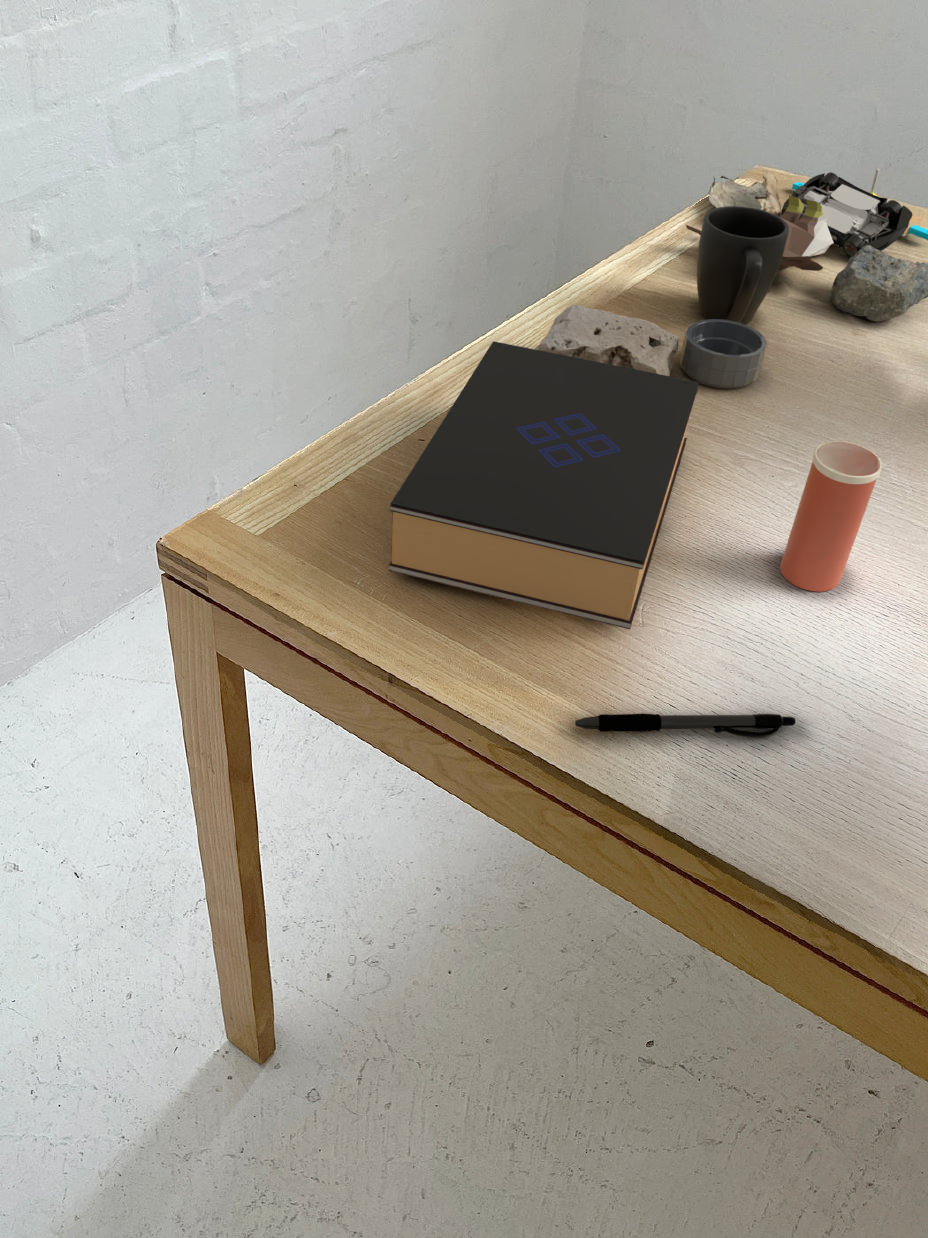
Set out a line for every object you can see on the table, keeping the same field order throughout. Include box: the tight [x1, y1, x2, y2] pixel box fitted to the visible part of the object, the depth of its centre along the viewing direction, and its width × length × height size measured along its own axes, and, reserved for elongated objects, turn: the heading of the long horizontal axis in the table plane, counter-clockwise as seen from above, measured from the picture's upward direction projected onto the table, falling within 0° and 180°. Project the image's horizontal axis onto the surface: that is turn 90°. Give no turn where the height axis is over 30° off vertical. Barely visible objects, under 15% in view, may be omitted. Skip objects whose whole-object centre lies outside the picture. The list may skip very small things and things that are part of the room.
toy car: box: [781, 171, 914, 259], centre depth 131 cm, size 7×15×4 cm, turn 37°
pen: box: [574, 713, 797, 739], centre depth 70 cm, size 14×2×1 cm, turn 94°
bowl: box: [679, 319, 768, 390], centre depth 105 cm, size 7×7×4 cm
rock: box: [830, 245, 928, 323], centre depth 118 cm, size 12×10×5 cm
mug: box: [696, 206, 789, 325], centre depth 111 cm, size 8×12×10 cm
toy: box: [685, 195, 834, 272], centre depth 122 cm, size 16×16×7 cm
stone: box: [534, 304, 680, 376], centre depth 103 cm, size 13×6×10 cm
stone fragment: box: [695, 170, 782, 240], centre depth 135 cm, size 19×8×5 cm
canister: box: [779, 440, 883, 593], centre depth 80 cm, size 4×4×10 cm
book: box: [388, 341, 700, 630], centre depth 85 cm, size 17×25×7 cm
